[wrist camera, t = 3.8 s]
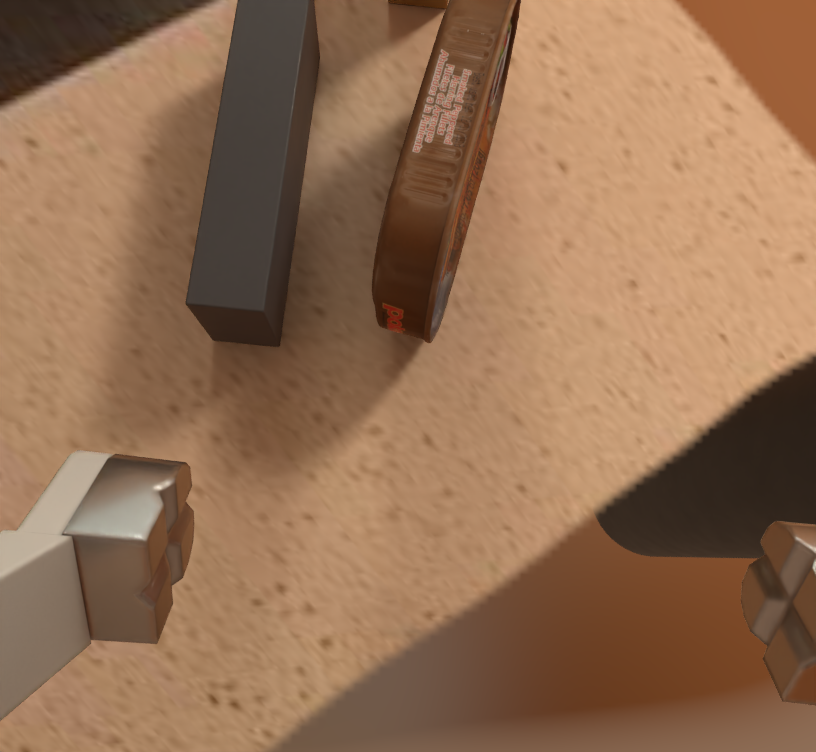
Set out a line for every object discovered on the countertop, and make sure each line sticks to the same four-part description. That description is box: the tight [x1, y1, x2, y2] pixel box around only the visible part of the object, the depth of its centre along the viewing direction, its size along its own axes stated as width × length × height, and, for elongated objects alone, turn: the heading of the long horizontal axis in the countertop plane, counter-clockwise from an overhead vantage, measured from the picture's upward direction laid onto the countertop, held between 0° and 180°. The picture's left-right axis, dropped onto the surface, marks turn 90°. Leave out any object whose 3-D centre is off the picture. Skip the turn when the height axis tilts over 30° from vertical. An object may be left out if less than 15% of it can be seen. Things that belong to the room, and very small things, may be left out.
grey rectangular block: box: [186, 0, 320, 347], centre depth 32 cm, size 3×15×5 cm, turn 175°
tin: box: [372, 0, 521, 343], centre depth 31 cm, size 15×3×8 cm, turn 165°
